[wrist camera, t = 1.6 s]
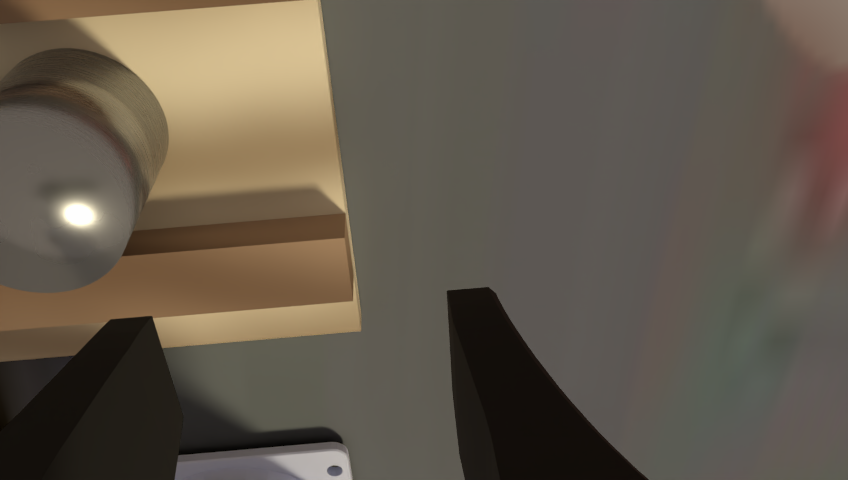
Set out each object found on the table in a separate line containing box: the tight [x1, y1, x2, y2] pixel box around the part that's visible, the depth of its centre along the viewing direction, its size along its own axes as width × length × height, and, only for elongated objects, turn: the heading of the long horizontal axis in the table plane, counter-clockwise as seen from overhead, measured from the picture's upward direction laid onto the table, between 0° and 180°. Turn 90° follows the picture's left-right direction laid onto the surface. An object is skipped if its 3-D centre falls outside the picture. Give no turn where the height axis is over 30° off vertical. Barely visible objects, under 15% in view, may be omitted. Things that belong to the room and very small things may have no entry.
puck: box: [0, 48, 169, 293], centre depth 18 cm, size 4×4×4 cm
